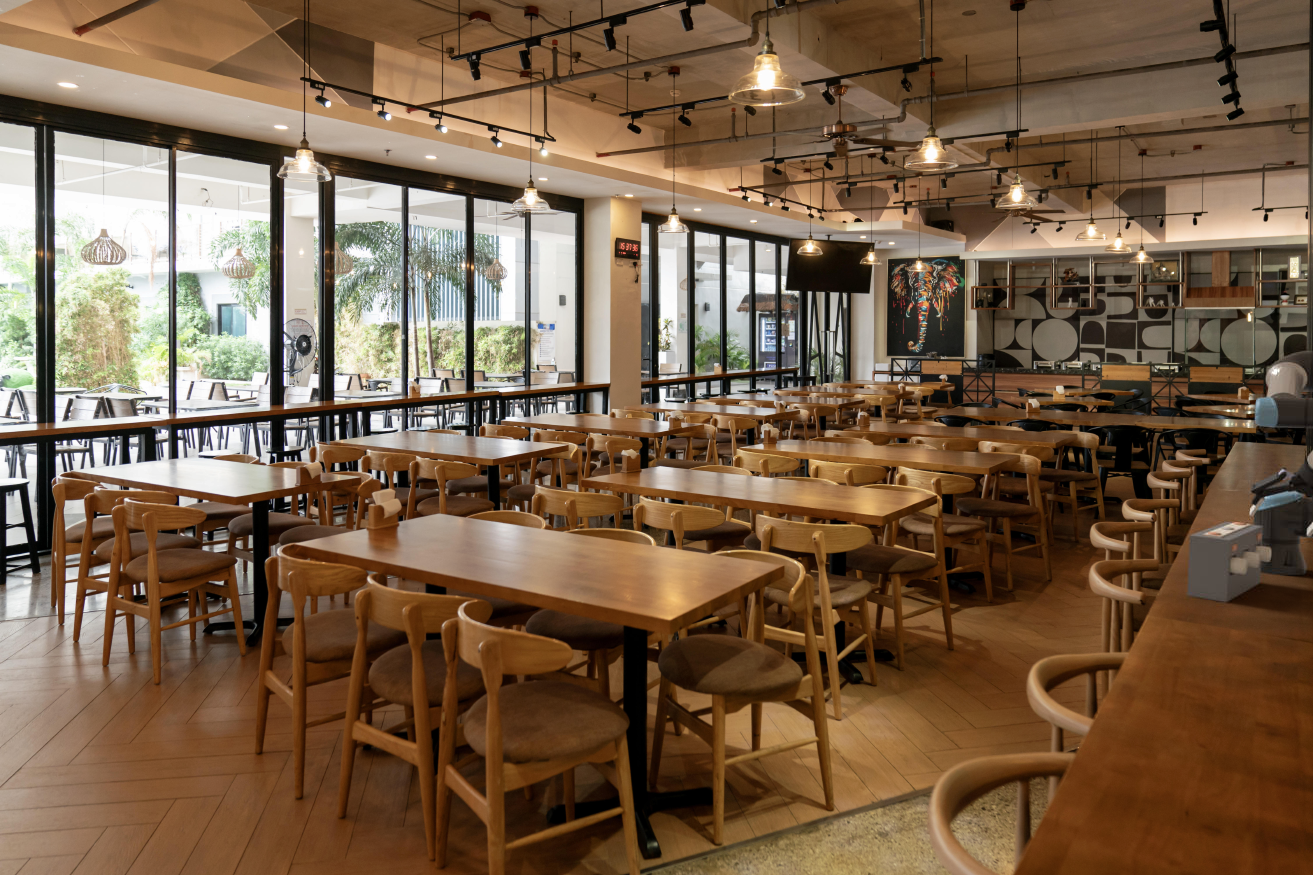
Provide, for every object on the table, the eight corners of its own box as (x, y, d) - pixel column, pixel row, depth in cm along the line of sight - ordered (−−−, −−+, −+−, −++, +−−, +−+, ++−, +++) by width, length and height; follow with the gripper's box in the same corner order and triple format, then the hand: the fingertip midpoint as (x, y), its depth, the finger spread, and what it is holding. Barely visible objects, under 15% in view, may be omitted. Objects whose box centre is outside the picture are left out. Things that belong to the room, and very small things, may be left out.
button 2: (1247, 557, 249) (1248, 543, 248) (1271, 560, 245) (1271, 546, 244) (1243, 559, 246) (1244, 545, 246) (1266, 562, 242) (1267, 548, 242)
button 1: (1222, 569, 234) (1223, 554, 234) (1247, 573, 230) (1247, 557, 229) (1217, 572, 231) (1218, 556, 231) (1242, 575, 227) (1243, 560, 227)
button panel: (1223, 577, 255) (1225, 519, 254) (1261, 583, 248) (1264, 523, 247) (1187, 595, 235) (1190, 532, 234) (1227, 602, 228) (1230, 537, 227)
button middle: (1235, 563, 241) (1236, 548, 241) (1259, 566, 237) (1260, 551, 237) (1231, 565, 239) (1231, 550, 238) (1255, 569, 234) (1255, 554, 234)
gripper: (1266, 457, 222) (1226, 513, 237) (1381, 494, 214) (1333, 551, 229) (1267, 439, 227) (1229, 495, 242) (1380, 475, 219) (1333, 531, 233)
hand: (1279, 522), depth 235 cm, fingers open, 13 cm apart
